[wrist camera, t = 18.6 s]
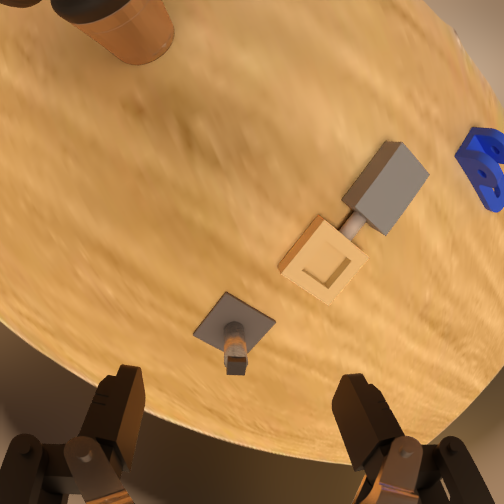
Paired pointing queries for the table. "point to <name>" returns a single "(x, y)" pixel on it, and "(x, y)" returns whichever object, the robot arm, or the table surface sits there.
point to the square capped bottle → (235, 349)
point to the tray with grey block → (354, 223)
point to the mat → (229, 312)
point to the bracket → (484, 165)
